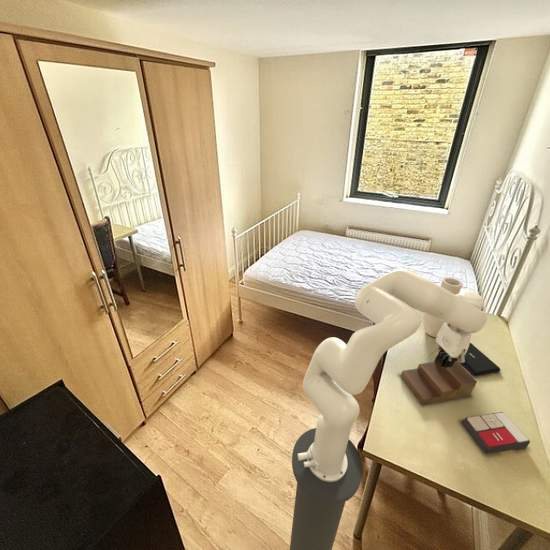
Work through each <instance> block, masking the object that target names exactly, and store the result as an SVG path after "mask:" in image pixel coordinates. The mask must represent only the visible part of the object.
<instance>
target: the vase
mask: <svg viewBox="0 0 550 550" xmlns="http://www.w3.org/2000/svg"><path fill="white" fill-rule="evenodd" d="M440 286H441V287H442V288H444V289H446V290H448V291H449V292H451V293H453V294H454V295H457V294H459V293H461V289H462V288H463V286H464V284H463V281H461V280H459V279H457V278H455V277H451V276H450V277H443V278H442V279H441V283H440ZM444 323H445V322H444V321H441V320H439V319H437V318H435V317H433V316H431V315H428V314H426V313H422V327H423V329H424V331H425V333H426V334H427V335H429V336H430V337H433V338H436V337H437V334H438V332H439V330H440V328H441V327H442V325H443V324H444Z"/></svg>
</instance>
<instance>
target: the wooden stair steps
mask: <svg viewBox="0 0 550 550" xmlns="http://www.w3.org/2000/svg"><path fill="white" fill-rule="evenodd" d="M435 359H436V357H435V358H434V360H433V361H429V362H424V363H423V362H422V363H419V364H418V366H417V368H411V369H405V370H402V371H401V374H400V378H402V380H403V381H404V382H405V384H406V386H407V387H408V389H409V390H410V391H411V392H412V394H413V395H414V396H415V398H416V399H417V401H418V402H419V403H420V405H421V406H424V405H429V404H430V405H431V404H436V403H441V402H446V401H451V400H456V399H461V398H467V397H470V396H471V395H472V393H473V391H474V390H475V387H476V385H477V384H478V381H477V380H476V379H475V378H474V377H473V375H472V374H471V373H470V372H469V371H468V370H467V369H466V368H465V367H464V366H463V365H462V364H461V363H460V362H457V361H455V362H454V364H453V366H452V367H447V368H445V367H444V366H443V367H440V366H439V365H438V364H437V363H436V361H435Z"/></svg>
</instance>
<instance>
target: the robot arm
mask: <svg viewBox="0 0 550 550" xmlns="http://www.w3.org/2000/svg"><path fill="white" fill-rule="evenodd" d="M484 304H485V300H484V298H483V297H482V295H480V294H478V293H476V292H474V291H470V290H463V291H460V292H459V294H457V295H454V294H453V293H451V292H449V291H448V290H446V289H444V288H442V287H441V285H439V284H437V283H435V282H434V281H432V280H429V279H427V278H426V277H424V276H421V275H419V274H417V273H415V272H414V271H412V270H409V269H407V268H397V269H394V270H391V271H389V272H387V273H385V274H383V275H382V276H379V277H377V278H376V279H374V280H373V281H370V282H368V283H367V284H366V285H364V286H363V287H361V288H360V290H358V292H356V295H355V297H354V306H355V309H356V310H357V311H358V313H360V314H361V315H363V316H364V317H366V318H367V319H368V320H369V321H371V322H373V323H374V324H372V325H369V326H366V327H363V328H360V329H357V330H356V331H354V332H353V333H352V334H351V336H350V338H349V340H348V341H347V343H346V342H344V341H343V340H342V339H340V338H338V337H333V336H331V337H328V338H326V339H324V340H323V341H321V342H320V343H319V344H318V346H317V347H316V348H315V349H314V353H313V354H312V357H311V360H310V362H309V365H308V367H307V369H306V372H305V375H304V376H303V380H302V391H303V392H304V393H305V395H306V397H308V399H309V400H310V401H311V403H312V404H313V405H314V406H315V408H316V409H317V411H318V413H319V414H320V415H319V417H318V418H317V421H316V425H315V428H316V433H315V440H314V443H313V444H312V445H311V446H310V448H309V450H308V451H307V452H305V453H299V454H298V460H299V461H301V460H304V459H307V462H304V467H309V468H310V470H311V471H312V473H313V474H314V475H315V476H316V477H317V478H319V479H320V480H323V481H326V482H335V481H338V480H340V479H341V478H342V477H343V476H344V475H345V473H346V470H347V465H348V462H347V457H346V454H345V452H346V448H347V444H348V439H349V440H350V435H351V432H352V429H353V426H354V424H355V423H356V421H357V419H358V418H359V416H360V411H361V410H360V405H359V403H358V401H357V399H356V398H355V397H354V395H355V396H356V395H359V394H361V393H362V392H363V391H365V389H366V387H367V386H368V384H369V382H370V380H371V378H372V376H373V375H374V372H375V370H376V368H377V367H378V364H379V362H380V360H381V358H382V357H383V355H384V354H385V353H386V352H387V351H388V350H390V349H392V348H393V347H395V346H396V345H398V344H399V343H401V342H403V341H405V340H406V339H408V338H410V337H411V336H412V335H414V334H415V333H417V331H418V329H419V328H420V326H421V325H422V316H421V315H420V313H419V312H421V313H422V314H424V313H426V314H428V315H431V316H433V317H435V318H437V319H439V320H441V321H444V322H445V323H444V324H443V325H442V327H441V328H440V330H439V332H438V334H437V337H435V342H436V343H437V344H438V348H437V349H438V353H437V355H440V353H441V352H447V353H448V354H449V358H448V359H446V362H445V364H444V367H445V368H447V367H452V366H453V363H454V361H457V362H458V363H459V364H461V363H464V362H465V357H464V356H465V354H466V352H467V350H468V347H469V344H470V343H471V341H472V334H475V333H479V332H480V331H481V330H482V329H484V327H485V325H486V324H487V320H488V317H487V314H486V312H485V311H483V310H482V309H483V307H484ZM458 356H459V357H458ZM323 477H324V478H323Z"/></svg>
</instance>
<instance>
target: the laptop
mask: <svg viewBox="0 0 550 550" xmlns="http://www.w3.org/2000/svg"><path fill="white" fill-rule="evenodd" d="M458 357H459V356H458ZM464 357H465V362H464V363H460V365H461V366H462V367H463V368H464V369H465V370H466V371H467V372H469V373H470V374H471V375H472V376H474V377H479V376H485V375H490V374H494V373H499V372H501V367H499V366H498V365H497V364H496V363H495V362H493V361H492V359H490V358H489V357H488V356H487V355H485V353H484V352H482V351H481V350H480V349H478V348H477V347H476V346H475V345H474V344H473V343H472V342H470V344H469V347H468V350H467V352H466V354H465V356H464Z"/></svg>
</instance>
